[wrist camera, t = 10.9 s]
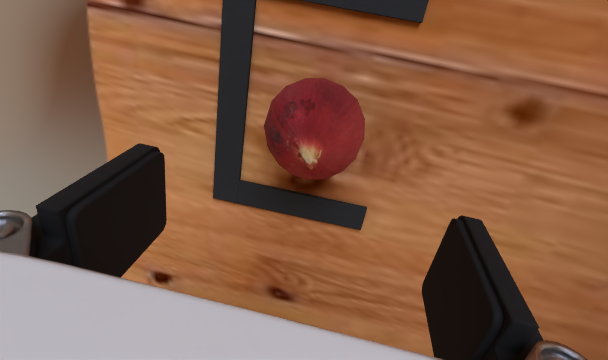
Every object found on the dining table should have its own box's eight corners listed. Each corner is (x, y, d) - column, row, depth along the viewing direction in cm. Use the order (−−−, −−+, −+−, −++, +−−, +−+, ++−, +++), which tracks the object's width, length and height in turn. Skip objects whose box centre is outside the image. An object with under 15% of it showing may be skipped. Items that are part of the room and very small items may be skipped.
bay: (227, -53, 20) (225, -54, 20) (432, -16, 19) (433, -16, 19) (214, 196, 28) (212, 198, 27) (360, 228, 27) (360, 230, 27)
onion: (269, 135, 25) (234, 185, 18) (292, 55, 22) (262, 77, 15) (344, 163, 25) (339, 224, 18) (377, 87, 22) (387, 123, 15)
